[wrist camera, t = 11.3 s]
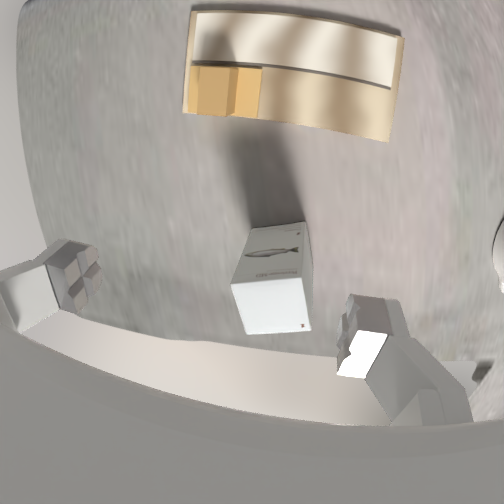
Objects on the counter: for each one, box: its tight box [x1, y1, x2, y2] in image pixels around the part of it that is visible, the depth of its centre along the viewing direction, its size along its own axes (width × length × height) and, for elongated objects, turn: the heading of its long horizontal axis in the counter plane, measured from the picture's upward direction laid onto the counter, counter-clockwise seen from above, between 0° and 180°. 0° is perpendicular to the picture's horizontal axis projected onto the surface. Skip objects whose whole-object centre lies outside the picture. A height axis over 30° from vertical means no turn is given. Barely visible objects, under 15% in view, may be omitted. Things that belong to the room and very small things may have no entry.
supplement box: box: [230, 221, 313, 335], centre depth 36 cm, size 7×7×13 cm
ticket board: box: [183, 10, 405, 143], centre depth 29 cm, size 24×13×2 cm, turn 85°
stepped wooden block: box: [188, 66, 263, 118], centre depth 29 cm, size 8×6×5 cm
